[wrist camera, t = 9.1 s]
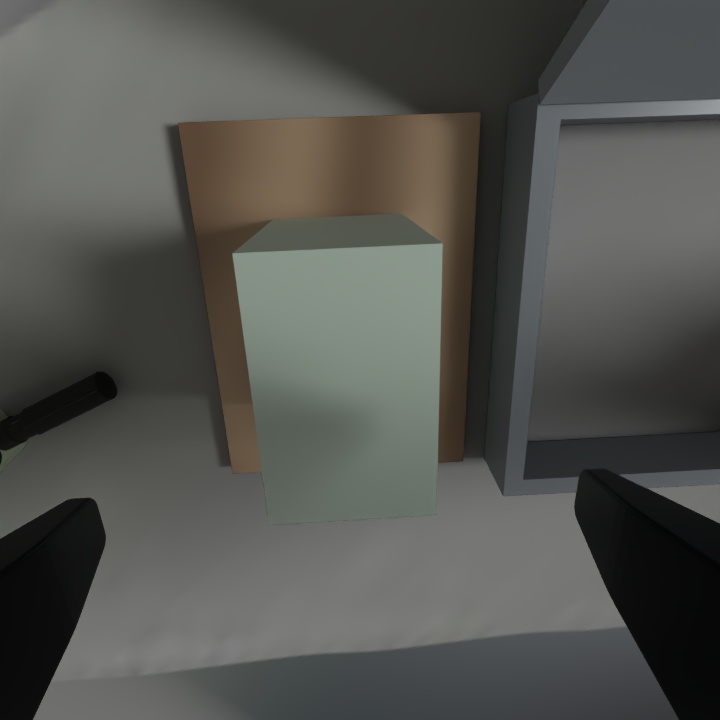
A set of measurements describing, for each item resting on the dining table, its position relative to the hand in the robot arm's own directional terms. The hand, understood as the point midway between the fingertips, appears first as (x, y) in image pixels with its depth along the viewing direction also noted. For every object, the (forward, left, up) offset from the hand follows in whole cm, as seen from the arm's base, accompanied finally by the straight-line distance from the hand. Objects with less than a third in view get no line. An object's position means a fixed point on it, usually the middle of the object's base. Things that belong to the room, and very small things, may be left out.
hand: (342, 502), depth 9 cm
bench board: (0, 0, -13) cm, 13 cm away
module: (0, 0, -12) cm, 12 cm away
